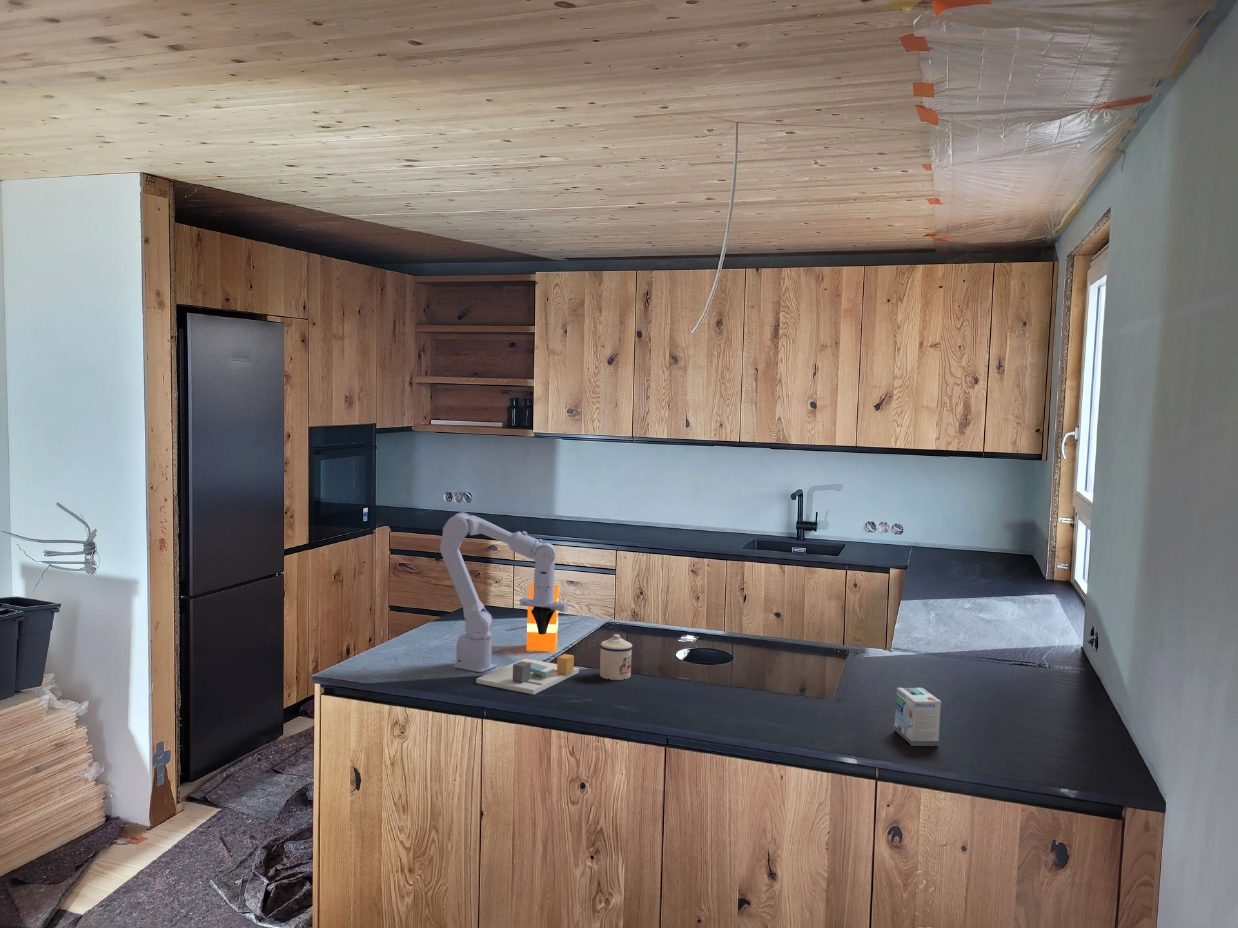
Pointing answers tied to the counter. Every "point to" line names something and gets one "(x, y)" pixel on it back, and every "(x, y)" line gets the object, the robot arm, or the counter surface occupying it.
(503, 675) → the panel
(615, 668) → the teacup with lid
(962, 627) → the counter surface
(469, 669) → the robot arm
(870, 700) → the counter surface
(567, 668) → the block
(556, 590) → the orange juice
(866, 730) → the counter surface
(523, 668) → the charcoal fader
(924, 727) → the light bulb box
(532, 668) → the teal flat block
